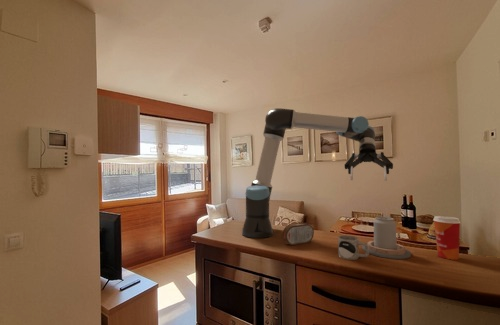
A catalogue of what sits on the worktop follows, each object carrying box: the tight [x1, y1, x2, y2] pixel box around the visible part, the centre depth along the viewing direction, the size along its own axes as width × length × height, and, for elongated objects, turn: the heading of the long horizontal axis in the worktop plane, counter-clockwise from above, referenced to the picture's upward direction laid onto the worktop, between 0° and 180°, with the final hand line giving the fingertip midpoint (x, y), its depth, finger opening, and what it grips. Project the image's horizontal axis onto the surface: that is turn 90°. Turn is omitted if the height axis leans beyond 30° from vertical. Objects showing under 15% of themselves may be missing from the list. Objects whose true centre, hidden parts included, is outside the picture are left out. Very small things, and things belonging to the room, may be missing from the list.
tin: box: [282, 222, 315, 246], centre depth 99 cm, size 15×3×8 cm, turn 115°
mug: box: [337, 235, 370, 261], centre depth 83 cm, size 10×7×7 cm, turn 56°
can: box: [373, 216, 398, 250], centre depth 89 cm, size 8×8×12 cm
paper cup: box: [432, 215, 462, 261], centre depth 83 cm, size 8×8×14 cm
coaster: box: [361, 240, 412, 260], centre depth 89 cm, size 16×16×2 cm
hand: (368, 178), depth 104 cm, fingers open, 13 cm apart
